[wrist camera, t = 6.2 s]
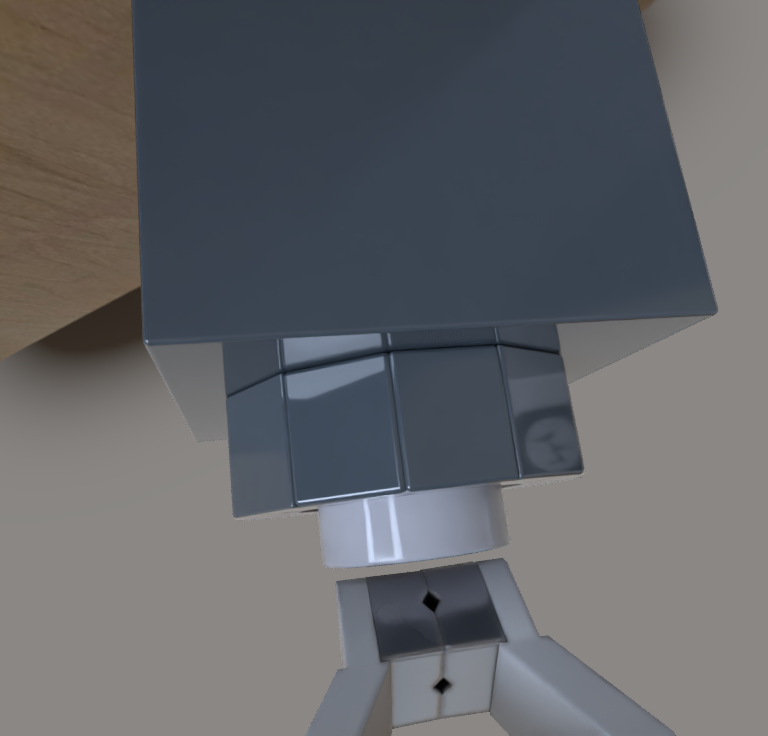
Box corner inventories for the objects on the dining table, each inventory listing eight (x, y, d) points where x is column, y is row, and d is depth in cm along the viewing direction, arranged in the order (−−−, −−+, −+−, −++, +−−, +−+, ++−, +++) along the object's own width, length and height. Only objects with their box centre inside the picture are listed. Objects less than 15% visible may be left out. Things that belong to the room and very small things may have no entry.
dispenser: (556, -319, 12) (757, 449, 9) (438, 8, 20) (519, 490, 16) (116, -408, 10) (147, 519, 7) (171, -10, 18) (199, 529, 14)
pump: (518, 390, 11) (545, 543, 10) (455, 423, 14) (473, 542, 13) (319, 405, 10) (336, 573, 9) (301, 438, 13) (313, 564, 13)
